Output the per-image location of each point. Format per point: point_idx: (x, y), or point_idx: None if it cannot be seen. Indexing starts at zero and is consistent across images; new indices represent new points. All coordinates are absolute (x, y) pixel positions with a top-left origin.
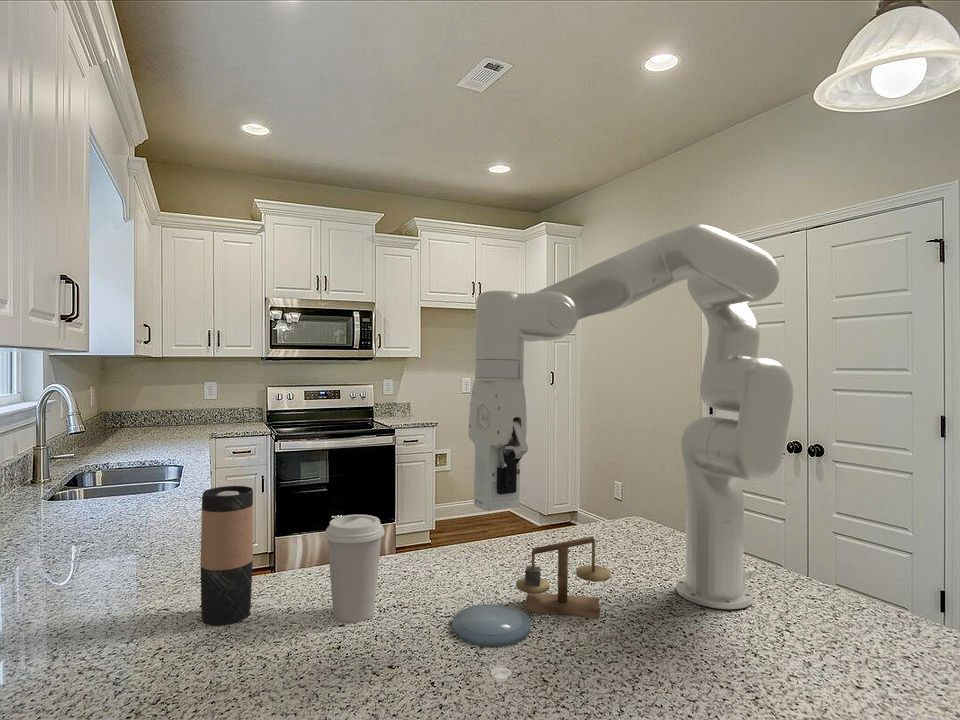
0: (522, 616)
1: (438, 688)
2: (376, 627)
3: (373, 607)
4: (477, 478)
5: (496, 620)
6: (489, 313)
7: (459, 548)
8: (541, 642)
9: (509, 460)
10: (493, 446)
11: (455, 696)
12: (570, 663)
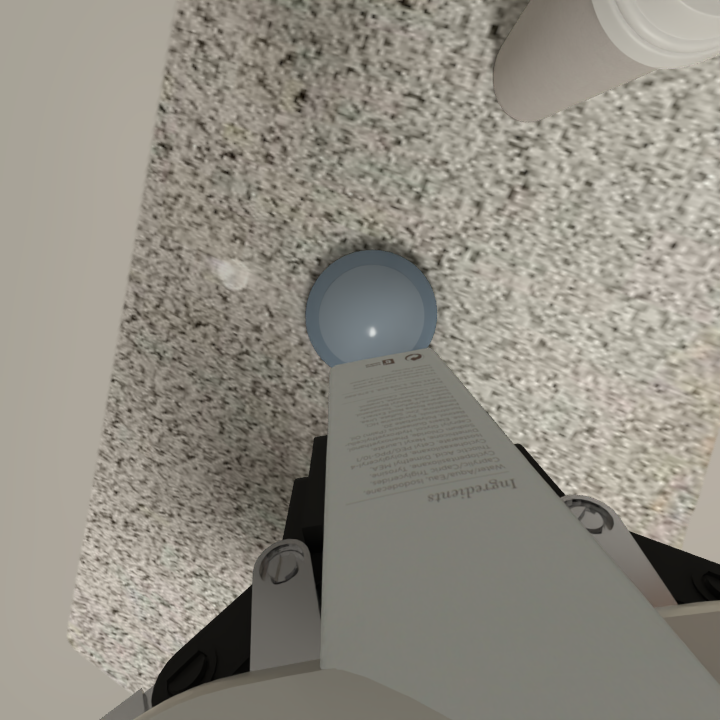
0: None
1: (214, 160)
2: (453, 108)
3: (513, 109)
4: (437, 401)
5: (365, 326)
6: None
7: (711, 390)
8: (299, 367)
9: (222, 623)
10: (251, 675)
11: (186, 179)
12: (231, 377)
